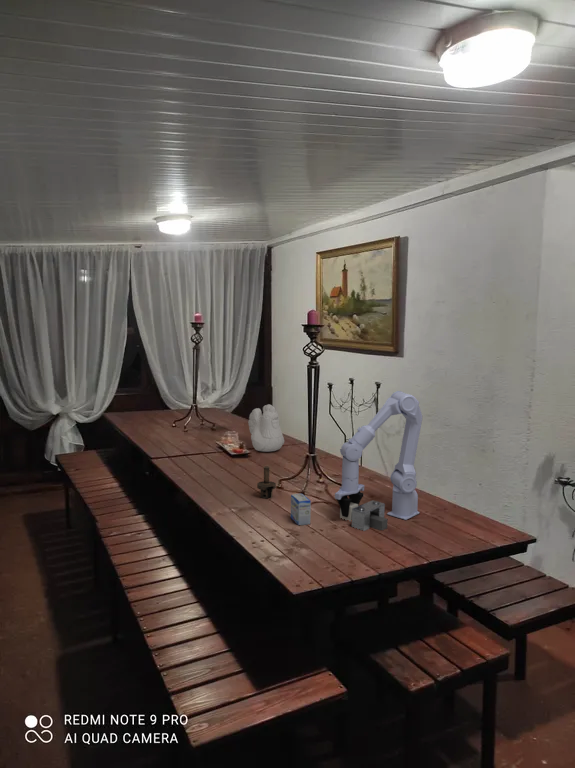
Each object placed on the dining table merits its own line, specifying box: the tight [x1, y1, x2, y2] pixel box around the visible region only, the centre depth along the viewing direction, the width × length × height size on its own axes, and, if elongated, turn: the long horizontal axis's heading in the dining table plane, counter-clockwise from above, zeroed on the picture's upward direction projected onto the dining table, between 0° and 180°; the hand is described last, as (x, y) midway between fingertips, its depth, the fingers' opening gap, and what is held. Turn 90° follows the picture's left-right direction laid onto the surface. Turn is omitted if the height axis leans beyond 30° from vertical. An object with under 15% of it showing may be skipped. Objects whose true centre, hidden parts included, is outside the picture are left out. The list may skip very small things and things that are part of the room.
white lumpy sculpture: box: [247, 403, 285, 453], centre depth 294 cm, size 25×16×25 cm, turn 25°
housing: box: [351, 500, 386, 532], centre depth 191 cm, size 12×5×7 cm, turn 137°
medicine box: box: [290, 493, 312, 526], centre depth 193 cm, size 8×4×9 cm, turn 21°
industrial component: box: [256, 465, 277, 499], centre depth 219 cm, size 9×7×12 cm
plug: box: [339, 502, 388, 531], centre depth 193 cm, size 4×17×5 cm, turn 47°
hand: (349, 514), depth 197 cm, fingers closed on plug, 4 cm apart
